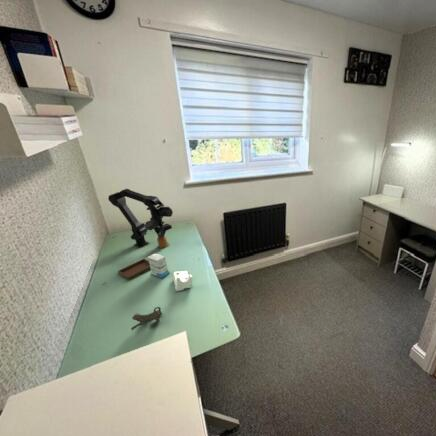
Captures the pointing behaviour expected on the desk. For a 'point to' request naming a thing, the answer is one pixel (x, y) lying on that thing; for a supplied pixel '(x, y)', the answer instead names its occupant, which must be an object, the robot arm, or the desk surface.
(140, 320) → the dog figurine
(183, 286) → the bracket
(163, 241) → the bottle
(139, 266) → the tray
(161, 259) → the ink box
